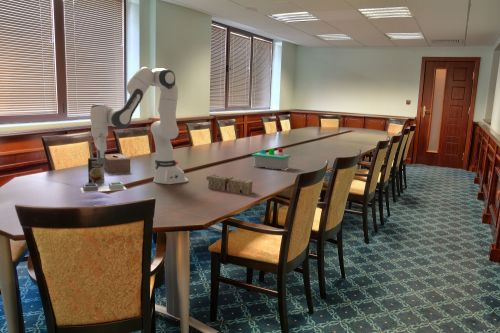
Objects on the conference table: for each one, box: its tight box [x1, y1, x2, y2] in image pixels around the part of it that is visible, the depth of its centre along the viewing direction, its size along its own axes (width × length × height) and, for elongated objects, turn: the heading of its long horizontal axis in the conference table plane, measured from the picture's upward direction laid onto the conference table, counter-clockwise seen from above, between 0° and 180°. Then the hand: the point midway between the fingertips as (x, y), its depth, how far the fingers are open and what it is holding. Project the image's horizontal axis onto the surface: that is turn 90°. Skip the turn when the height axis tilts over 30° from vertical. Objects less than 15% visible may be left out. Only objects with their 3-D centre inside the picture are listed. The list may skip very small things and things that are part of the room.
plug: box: [95, 148, 106, 164], centre depth 234 cm, size 4×4×9 cm
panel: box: [80, 181, 127, 194], centre depth 237 cm, size 24×12×4 cm, turn 118°
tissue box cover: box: [104, 153, 131, 175], centre depth 300 cm, size 26×14×10 cm, turn 31°
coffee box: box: [87, 157, 105, 184], centre depth 253 cm, size 9×6×16 cm
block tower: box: [206, 173, 254, 195], centre depth 251 cm, size 8×8×29 cm
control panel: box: [251, 147, 292, 170], centre depth 332 cm, size 15×17×30 cm
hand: (101, 157), depth 234 cm, fingers closed on plug, 4 cm apart
